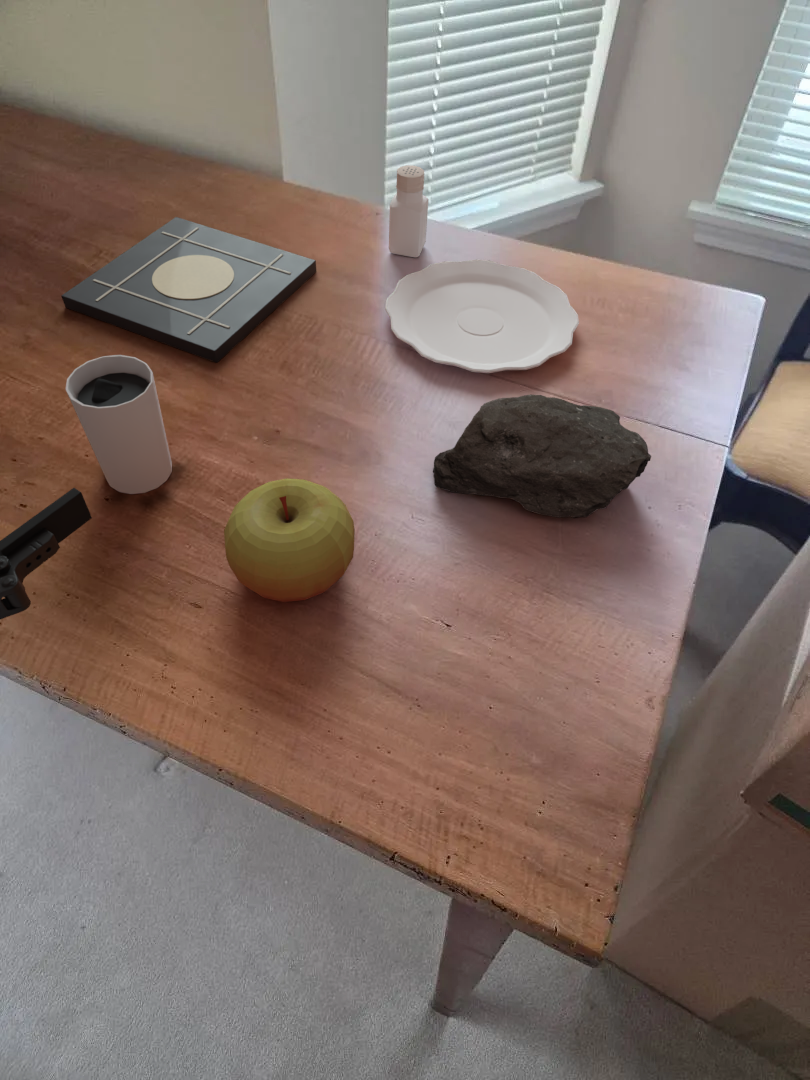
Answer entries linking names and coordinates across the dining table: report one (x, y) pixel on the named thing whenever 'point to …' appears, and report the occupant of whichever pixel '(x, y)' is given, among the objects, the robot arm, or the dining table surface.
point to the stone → (544, 456)
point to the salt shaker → (408, 213)
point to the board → (192, 287)
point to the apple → (289, 539)
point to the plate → (481, 316)
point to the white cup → (122, 421)
